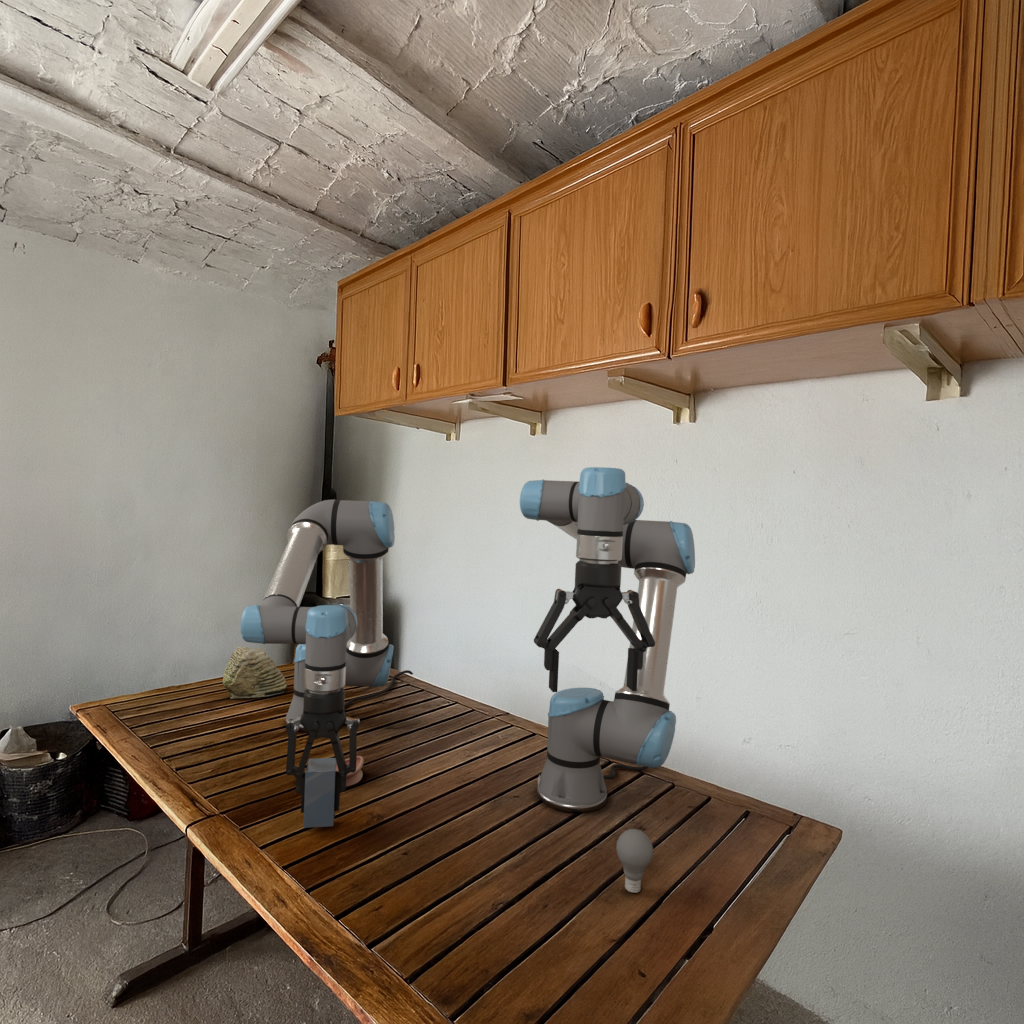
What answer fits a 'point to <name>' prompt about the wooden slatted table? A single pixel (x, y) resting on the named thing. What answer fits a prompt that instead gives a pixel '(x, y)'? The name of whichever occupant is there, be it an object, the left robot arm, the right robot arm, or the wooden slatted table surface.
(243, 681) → the fossil
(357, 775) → the anatomical model
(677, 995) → the wooden slatted table surface
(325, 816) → the brick
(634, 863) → the light bulb
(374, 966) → the wooden slatted table surface
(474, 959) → the wooden slatted table surface
